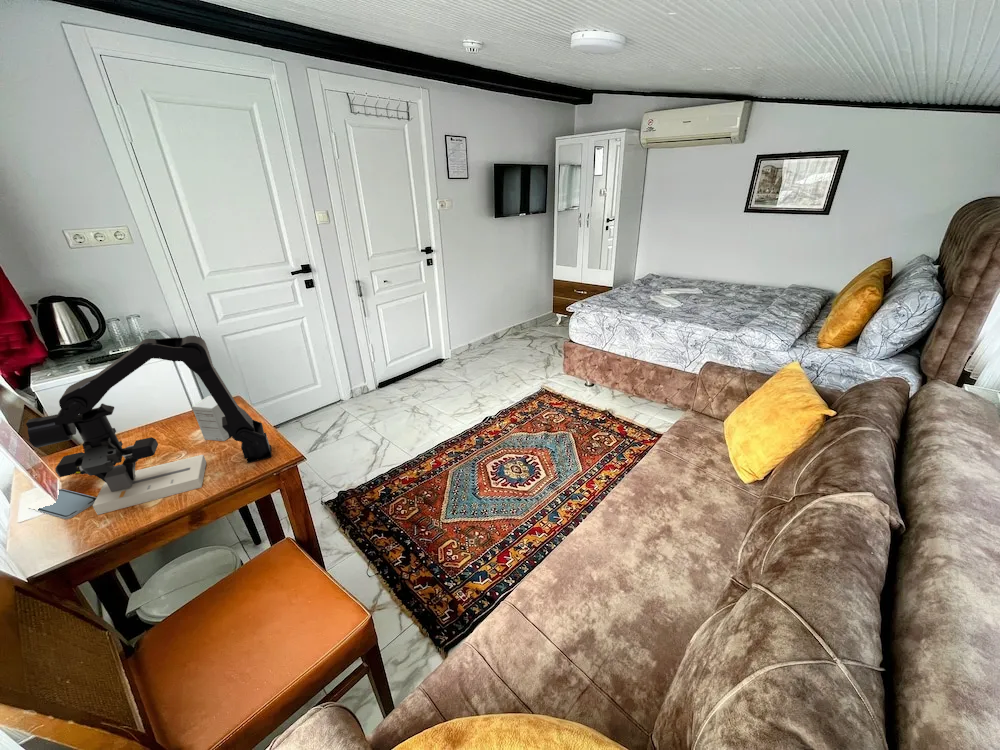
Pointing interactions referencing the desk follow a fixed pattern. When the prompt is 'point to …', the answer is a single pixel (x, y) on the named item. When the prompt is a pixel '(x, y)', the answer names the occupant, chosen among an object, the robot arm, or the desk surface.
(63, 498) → the smartphone
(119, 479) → the block
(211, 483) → the desk surface
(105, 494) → the block
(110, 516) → the desk surface
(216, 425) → the supplement box
